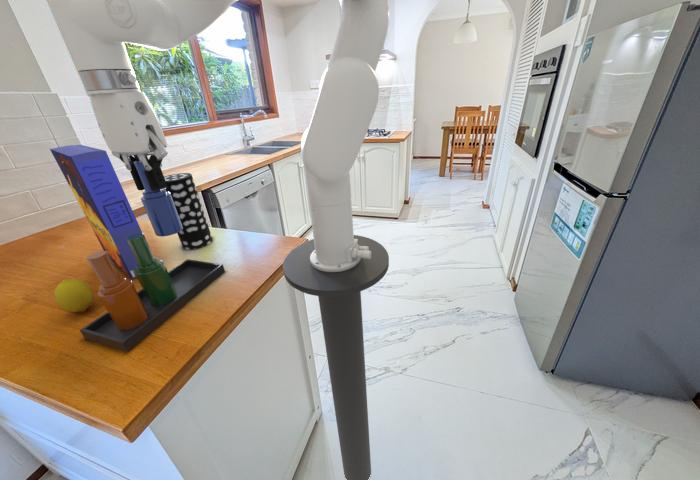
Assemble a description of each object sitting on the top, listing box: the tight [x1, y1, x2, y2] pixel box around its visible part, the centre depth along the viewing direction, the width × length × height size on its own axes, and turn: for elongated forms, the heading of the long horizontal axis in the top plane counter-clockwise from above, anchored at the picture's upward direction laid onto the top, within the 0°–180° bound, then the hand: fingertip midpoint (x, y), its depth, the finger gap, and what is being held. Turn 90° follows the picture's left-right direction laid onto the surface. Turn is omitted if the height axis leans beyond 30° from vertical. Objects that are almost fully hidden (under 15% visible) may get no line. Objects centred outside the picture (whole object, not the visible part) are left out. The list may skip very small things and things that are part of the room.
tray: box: [79, 258, 226, 353], centre depth 62 cm, size 11×25×2 cm, turn 161°
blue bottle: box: [134, 160, 183, 237], centre depth 58 cm, size 5×5×15 cm
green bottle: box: [127, 232, 177, 306], centre depth 59 cm, size 5×5×15 cm
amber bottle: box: [86, 250, 149, 331], centre depth 53 cm, size 5×5×15 cm
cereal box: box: [49, 144, 143, 280], centre depth 72 cm, size 22×6×30 cm, turn 51°
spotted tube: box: [164, 172, 213, 251], centre depth 82 cm, size 8×8×20 cm
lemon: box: [53, 278, 95, 313], centre depth 59 cm, size 6×6×8 cm
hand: (152, 187), depth 58 cm, fingers closed on blue bottle, 2 cm apart
